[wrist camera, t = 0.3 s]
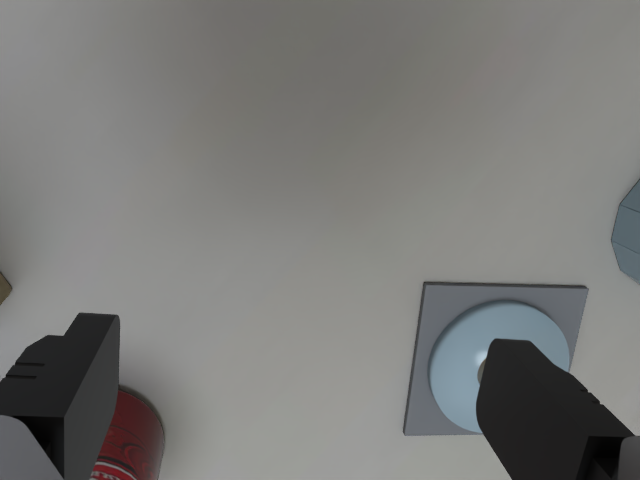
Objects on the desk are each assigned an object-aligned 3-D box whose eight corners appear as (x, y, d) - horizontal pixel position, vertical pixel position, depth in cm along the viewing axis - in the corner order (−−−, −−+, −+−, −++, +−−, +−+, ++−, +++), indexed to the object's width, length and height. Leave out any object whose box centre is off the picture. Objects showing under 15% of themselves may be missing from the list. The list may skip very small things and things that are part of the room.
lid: (437, 298, 33) (542, 427, 21) (573, 301, 34) (740, 424, 22) (418, 424, 35) (503, 599, 24) (545, 422, 36) (684, 588, 25)
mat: (423, 282, 33) (426, 285, 32) (584, 286, 34) (588, 288, 34) (402, 431, 36) (404, 435, 35) (552, 429, 37) (555, 433, 37)
